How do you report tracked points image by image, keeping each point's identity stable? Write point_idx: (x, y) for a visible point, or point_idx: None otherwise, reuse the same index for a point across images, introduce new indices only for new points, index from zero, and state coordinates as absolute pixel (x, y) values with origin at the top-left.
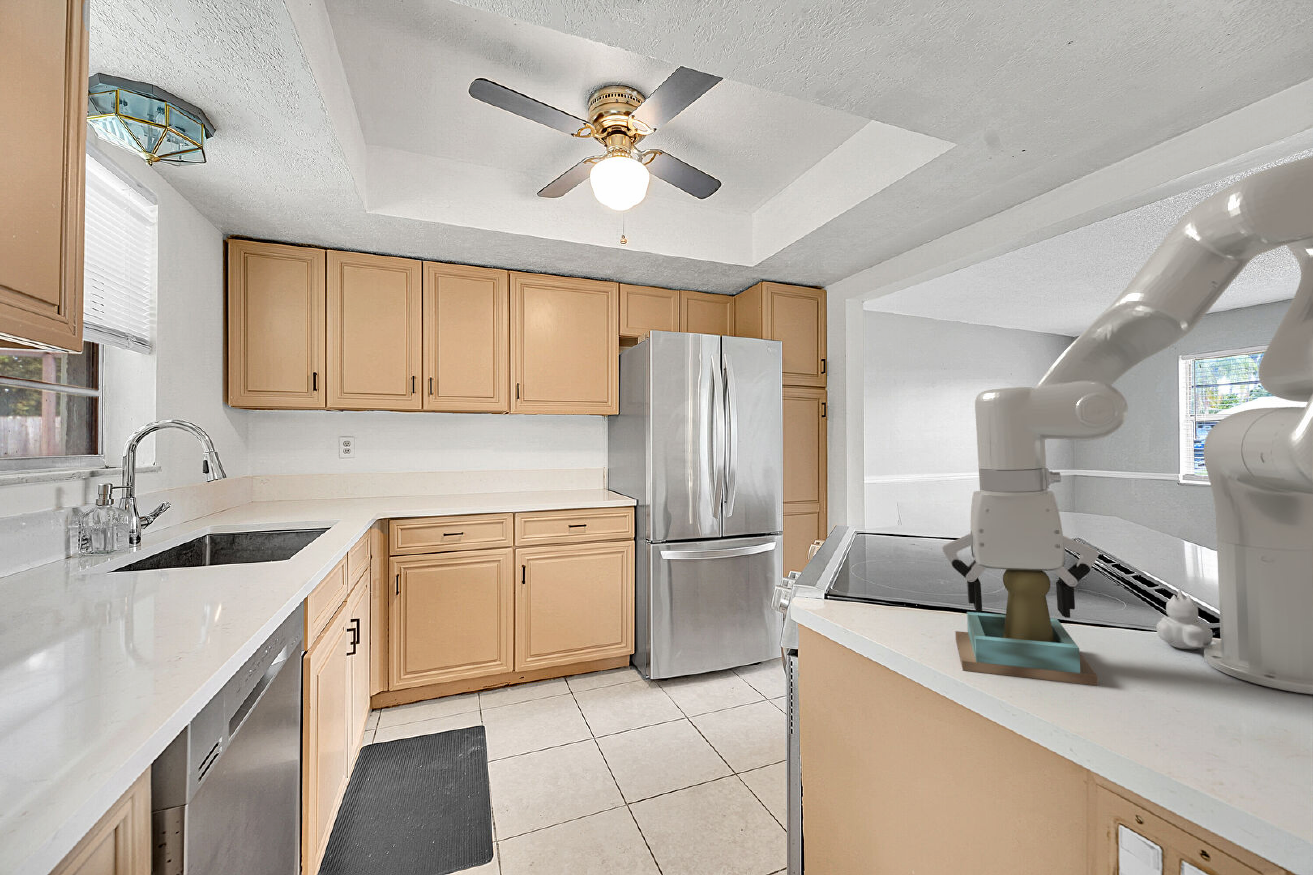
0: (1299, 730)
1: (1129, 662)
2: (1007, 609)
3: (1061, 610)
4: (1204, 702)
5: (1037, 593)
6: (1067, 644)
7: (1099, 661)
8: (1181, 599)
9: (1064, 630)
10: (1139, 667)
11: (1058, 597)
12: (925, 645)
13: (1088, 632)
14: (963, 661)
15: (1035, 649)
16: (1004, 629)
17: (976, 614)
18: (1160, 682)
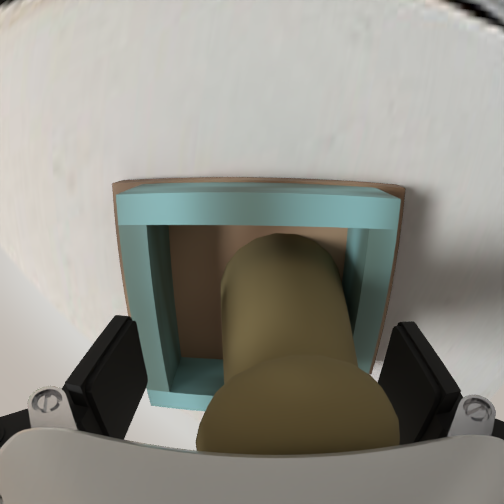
0: (498, 388)
1: (469, 232)
2: (223, 368)
3: (385, 379)
4: (470, 361)
5: None
6: None
7: (423, 242)
8: None
9: (380, 310)
10: (472, 255)
11: (405, 377)
12: (67, 245)
13: (454, 52)
14: None
15: None
16: (221, 310)
17: (143, 216)
18: (465, 314)
